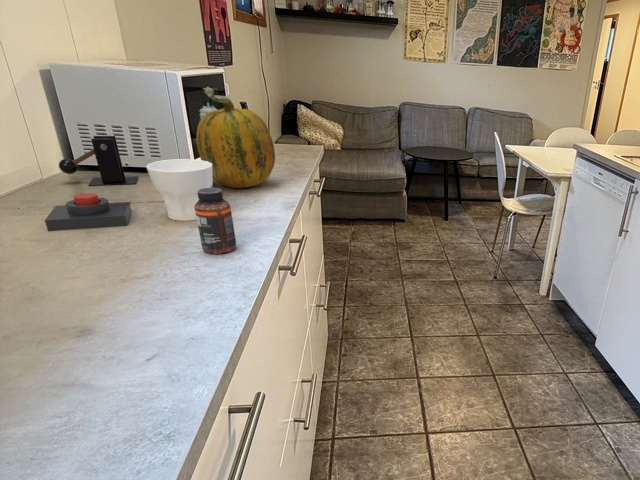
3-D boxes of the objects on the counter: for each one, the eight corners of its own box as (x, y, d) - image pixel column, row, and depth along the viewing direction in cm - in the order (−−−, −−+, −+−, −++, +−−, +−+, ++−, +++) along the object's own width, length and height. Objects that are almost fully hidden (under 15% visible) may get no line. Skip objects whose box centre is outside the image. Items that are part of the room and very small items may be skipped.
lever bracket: (89, 189, 116) (75, 140, 111) (94, 182, 123) (81, 134, 117) (137, 187, 121) (125, 140, 115) (139, 180, 127) (128, 134, 121)
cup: (184, 204, 111) (175, 156, 106) (232, 211, 109) (224, 162, 104) (143, 219, 100) (131, 167, 95) (195, 227, 99) (185, 174, 93)
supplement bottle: (238, 242, 92) (229, 185, 87) (236, 254, 88) (227, 194, 82) (204, 244, 91) (193, 186, 85) (200, 256, 86) (188, 194, 80)
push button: (74, 207, 94) (71, 198, 93) (77, 201, 97) (75, 193, 96) (98, 206, 95) (96, 197, 94) (101, 200, 98) (98, 192, 98)
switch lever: (66, 178, 115) (53, 165, 113) (69, 174, 118) (56, 162, 116) (115, 149, 117) (103, 136, 115) (116, 147, 120) (105, 134, 117)
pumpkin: (197, 194, 119) (177, 86, 108) (212, 176, 136) (197, 81, 124) (274, 194, 124) (264, 91, 112) (280, 177, 140) (271, 85, 129)
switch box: (48, 231, 91) (41, 211, 89) (58, 215, 99) (52, 197, 97) (127, 225, 97) (122, 206, 95) (131, 211, 104) (127, 193, 102)
